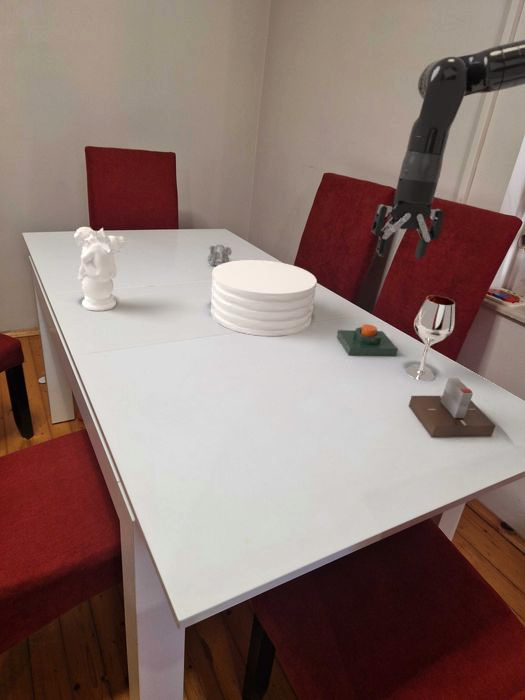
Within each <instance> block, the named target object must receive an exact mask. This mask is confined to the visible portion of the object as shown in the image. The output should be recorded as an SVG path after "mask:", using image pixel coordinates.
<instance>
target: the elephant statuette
mask: <svg viewBox="0 0 525 700" xmlns="http://www.w3.org/2000/svg"><path fill="white" fill-rule="evenodd" d="M208 249H209V251H210V253H209V254H208V256H207V260H208V262H209V263H208V264H209V265H210V266H215V265H216V262H217V260H219V261H220V264H223V263H227V262H230V258H229V257H230V256H231V255H232V254H233V253H232V252H233V251H232V248H231V247H230V246H224V245H223V244H216V245H209V247H208Z"/></svg>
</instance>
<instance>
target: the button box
mask: <svg viewBox="0 0 525 700" xmlns="http://www.w3.org/2000/svg"><path fill="white" fill-rule="evenodd" d="M361 330H362V326H360V327H357V328H355V329H354V330H348V329H338V330H337V335H336V338H337V340H338V342H339V344H340V345H341V347H342V348H343V350H344V351H345V353H346V354H347V355H348V356H349V357H396V356H397V353H398V347H397V346H396V345H395V344H394V343H393V341H392V340H390V337H388V336H387V334H386V333H385V332H384V331H383V330H378V329H377V331H376V335H375V336H366V335H363V334H361Z"/></svg>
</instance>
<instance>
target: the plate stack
mask: <svg viewBox="0 0 525 700" xmlns="http://www.w3.org/2000/svg"><path fill="white" fill-rule="evenodd" d="M211 278H212V279H211V299H210V305H211V306H210V315H211V317H212V319H213V320H214V321H215V322H216V323H218V324H219V325H221V326H222V327H224V328H226V329H228V330H231V331H234V332H238V333H240V334H245V335H250V336H251V335H252V336H259V337H283V336H288V335H289V336H290V335H293V334H296V333H299V332H302V331H304V330H306V329H307V328H308V327H309V326H310V325H311V323H312V315H313V311H314V304H315V296H316V288H317V283H318V280H317V278H316V276H315V275H314V274H313V273H311V272H310V271H308V270H306V269H305V268H301V267H299V266H296V265H292V264H289V263H284V262H280V261H279V262H278V261H273V260H263V259H262V260H261V259H241V260H232V261H228V262H227V263H224V262H222V263H220V264H218V265H216V266H215V267H214V268H213V269H212V272H211Z"/></svg>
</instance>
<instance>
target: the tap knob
mask: <svg viewBox="0 0 525 700" xmlns="http://www.w3.org/2000/svg"><path fill="white" fill-rule="evenodd" d="M473 395H474V393H473V391H472V390H471V389H470V388H468V387H467V386H466V385H465V383H464V382H463V381H461V380H460V378H459V377H447V380H446V383H445V387H444V390H443V393H442V395H441V396H442V399H441V403H442V404H443V405H444V406H445V407H446V409H447V410H448V411H449V412H450V413H451V415H452V416H453V417H454V418H464V417H465V415H466V412H467V409H468V406H469V403H470V401H472V397H473Z"/></svg>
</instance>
